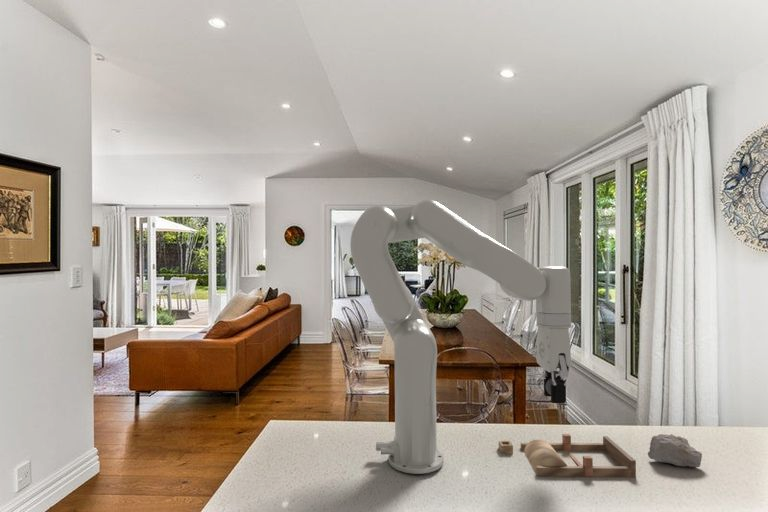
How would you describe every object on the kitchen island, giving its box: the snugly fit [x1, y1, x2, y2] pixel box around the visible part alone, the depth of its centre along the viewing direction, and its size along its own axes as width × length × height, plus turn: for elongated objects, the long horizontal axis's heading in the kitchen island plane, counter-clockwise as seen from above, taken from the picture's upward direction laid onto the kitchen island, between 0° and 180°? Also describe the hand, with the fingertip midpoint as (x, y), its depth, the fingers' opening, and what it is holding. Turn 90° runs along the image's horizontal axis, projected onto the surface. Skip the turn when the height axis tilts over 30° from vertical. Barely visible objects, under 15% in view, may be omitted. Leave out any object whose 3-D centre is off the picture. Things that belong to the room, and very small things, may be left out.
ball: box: [546, 379, 553, 395], centre depth 102 cm, size 4×4×4 cm
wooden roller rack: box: [520, 433, 637, 478], centre depth 102 cm, size 21×13×9 cm, turn 88°
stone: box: [647, 433, 703, 468], centre depth 101 cm, size 8×10×6 cm
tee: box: [498, 440, 514, 455], centre depth 108 cm, size 3×3×2 cm
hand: (554, 398), depth 102 cm, fingers closed on ball, 3 cm apart
